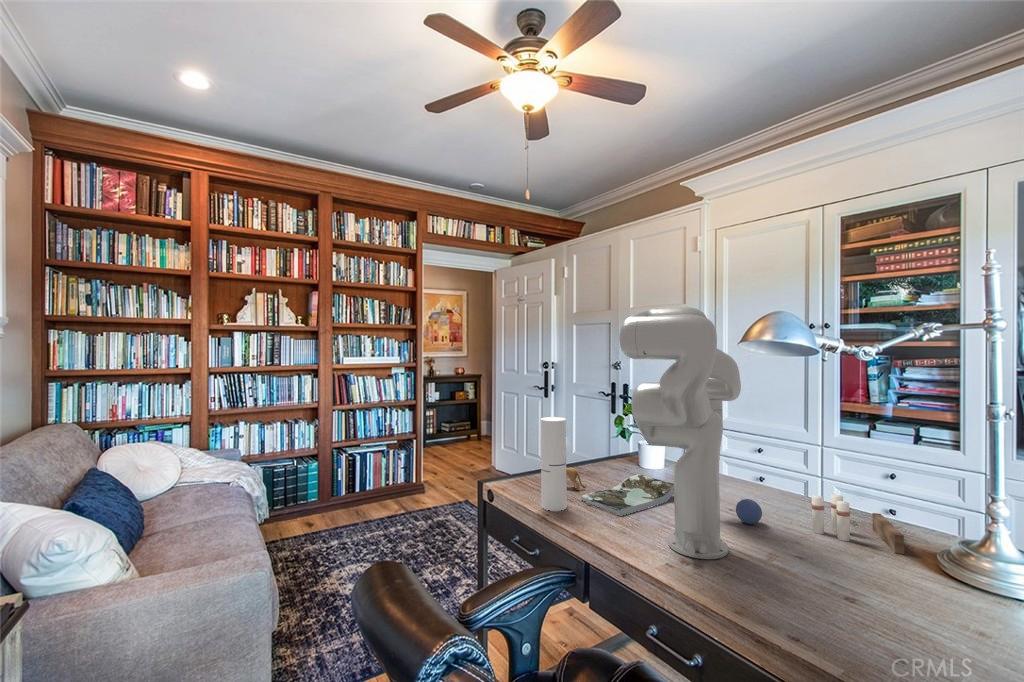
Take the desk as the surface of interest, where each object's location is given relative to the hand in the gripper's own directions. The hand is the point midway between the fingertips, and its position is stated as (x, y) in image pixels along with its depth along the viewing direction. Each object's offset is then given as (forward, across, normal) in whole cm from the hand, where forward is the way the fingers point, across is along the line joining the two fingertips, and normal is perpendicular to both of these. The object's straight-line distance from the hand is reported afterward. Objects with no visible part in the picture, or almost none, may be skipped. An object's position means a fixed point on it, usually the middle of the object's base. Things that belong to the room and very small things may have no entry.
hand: (708, 483), depth 120 cm
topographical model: (+10, +6, +21) cm, 24 cm away
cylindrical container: (+9, -8, +41) cm, 42 cm away
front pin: (+9, -1, -24) cm, 26 cm away
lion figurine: (+9, +10, +44) cm, 46 cm away
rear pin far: (+9, +1, -29) cm, 30 cm away
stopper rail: (+9, -1, -38) cm, 39 cm away
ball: (+6, -1, -9) cm, 11 cm away
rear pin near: (+9, -4, -29) cm, 30 cm away
